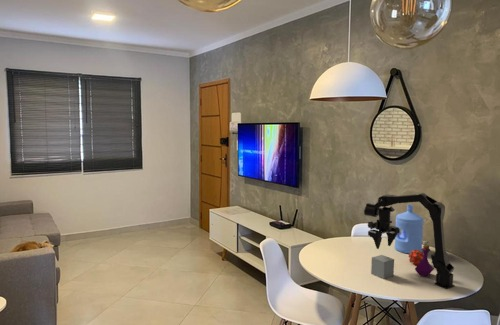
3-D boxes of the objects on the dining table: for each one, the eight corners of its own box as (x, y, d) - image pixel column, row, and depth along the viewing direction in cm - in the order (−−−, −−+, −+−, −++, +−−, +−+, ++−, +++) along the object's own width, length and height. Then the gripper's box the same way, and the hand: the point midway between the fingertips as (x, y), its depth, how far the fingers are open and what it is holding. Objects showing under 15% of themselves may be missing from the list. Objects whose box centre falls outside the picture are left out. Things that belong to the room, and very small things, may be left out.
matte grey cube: (393, 275, 193) (394, 259, 192) (383, 279, 189) (384, 262, 188) (381, 270, 200) (381, 254, 199) (371, 273, 196) (371, 257, 195)
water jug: (416, 246, 240) (419, 203, 237) (425, 254, 224) (428, 208, 221) (391, 245, 241) (393, 202, 238) (398, 253, 226) (400, 207, 223)
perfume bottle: (418, 270, 200) (420, 237, 198) (433, 274, 195) (435, 240, 193) (414, 275, 194) (415, 241, 192) (429, 278, 190) (431, 244, 188)
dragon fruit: (412, 262, 216) (422, 273, 205) (401, 254, 215) (411, 265, 203) (423, 251, 215) (433, 262, 203) (412, 243, 213) (421, 253, 202)
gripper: (383, 213, 211) (382, 240, 213) (360, 217, 201) (359, 246, 203) (400, 217, 202) (399, 245, 203) (377, 222, 192) (376, 252, 193)
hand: (383, 247), depth 201 cm, fingers open, 9 cm apart
